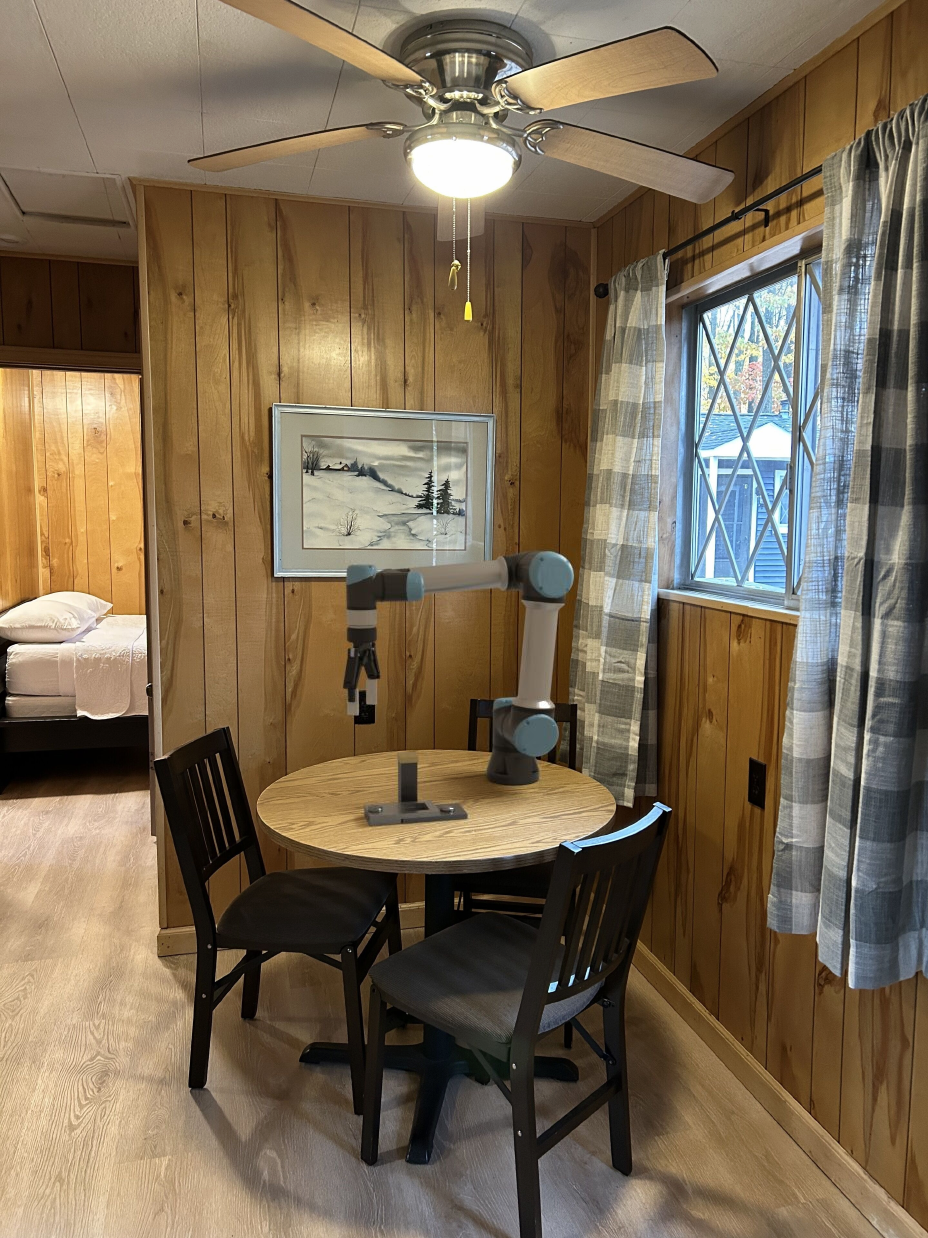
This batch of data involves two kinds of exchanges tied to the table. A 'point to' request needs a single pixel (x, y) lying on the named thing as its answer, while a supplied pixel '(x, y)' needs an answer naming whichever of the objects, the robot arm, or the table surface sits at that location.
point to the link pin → (407, 776)
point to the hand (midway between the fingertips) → (362, 709)
